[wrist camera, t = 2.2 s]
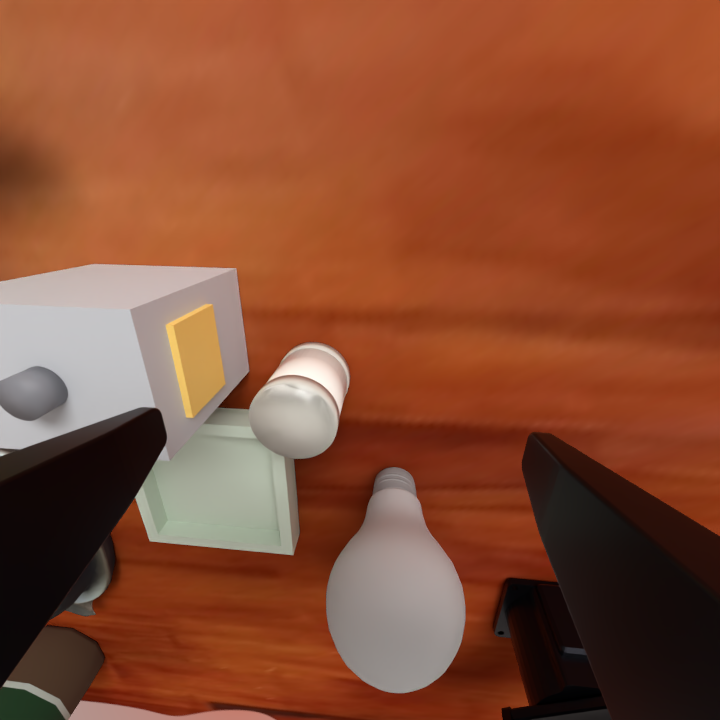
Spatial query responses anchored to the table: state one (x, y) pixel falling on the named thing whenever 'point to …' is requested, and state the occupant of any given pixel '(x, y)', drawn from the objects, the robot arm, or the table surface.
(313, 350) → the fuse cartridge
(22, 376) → the box
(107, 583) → the salad plate
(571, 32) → the table surface
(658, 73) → the table surface
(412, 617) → the lightbulb
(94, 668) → the beer bottle
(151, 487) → the tray
